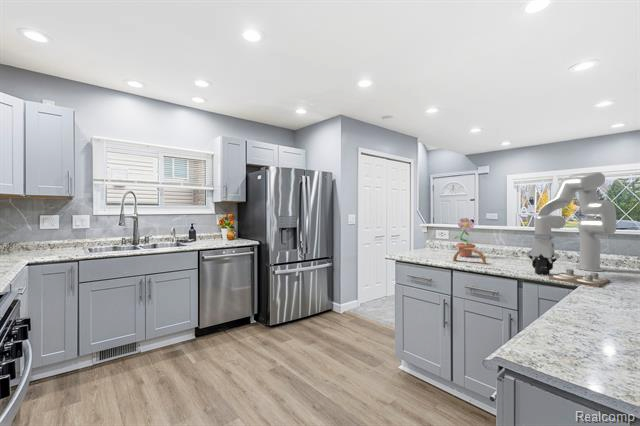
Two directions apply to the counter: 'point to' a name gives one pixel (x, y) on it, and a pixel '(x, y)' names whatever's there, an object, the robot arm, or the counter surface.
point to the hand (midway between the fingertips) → (542, 268)
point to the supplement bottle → (541, 265)
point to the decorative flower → (465, 225)
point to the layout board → (580, 278)
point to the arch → (471, 250)
